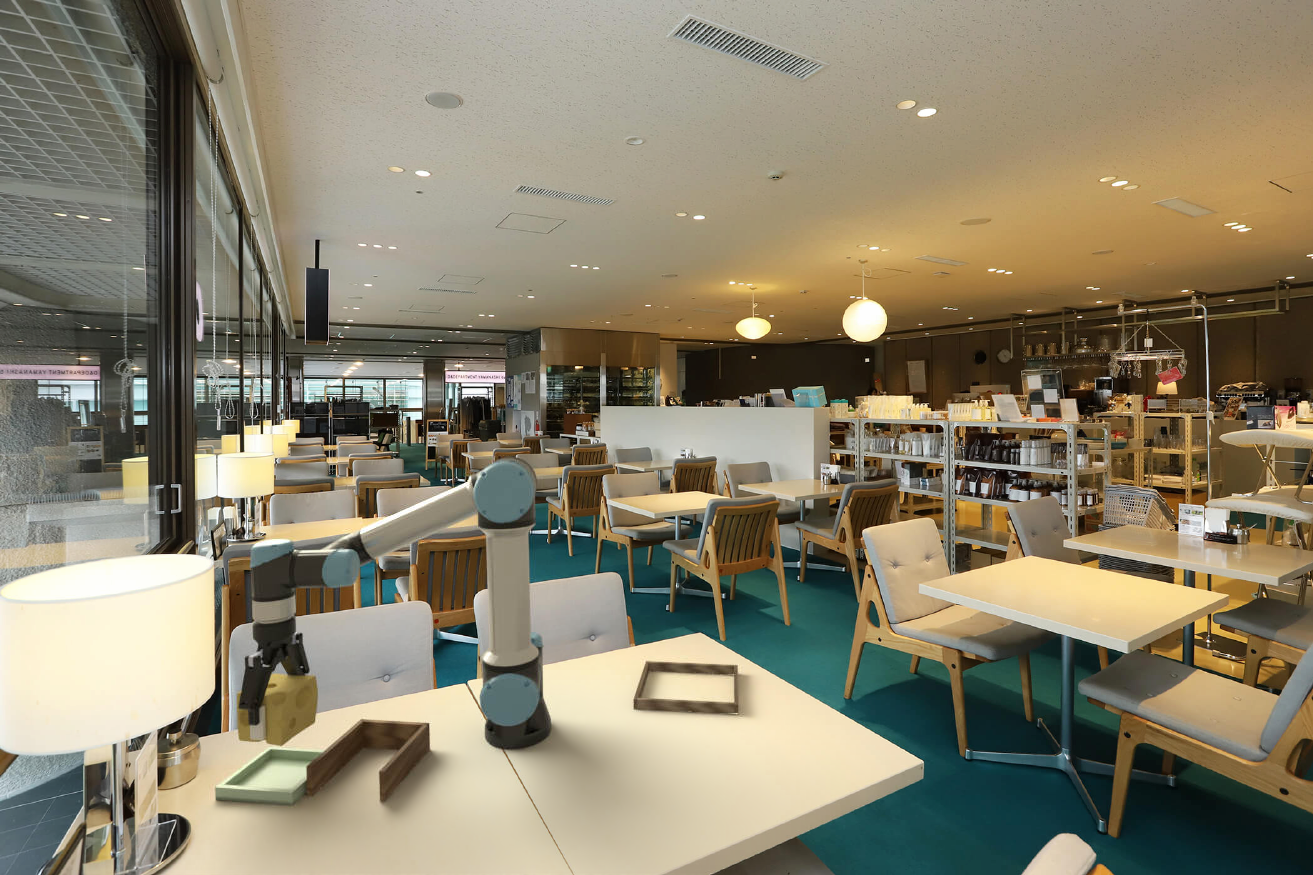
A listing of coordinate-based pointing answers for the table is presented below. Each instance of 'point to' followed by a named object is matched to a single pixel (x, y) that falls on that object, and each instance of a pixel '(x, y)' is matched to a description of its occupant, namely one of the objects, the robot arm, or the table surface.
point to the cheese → (283, 708)
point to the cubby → (378, 735)
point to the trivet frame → (686, 704)
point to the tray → (270, 777)
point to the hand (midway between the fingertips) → (277, 724)
